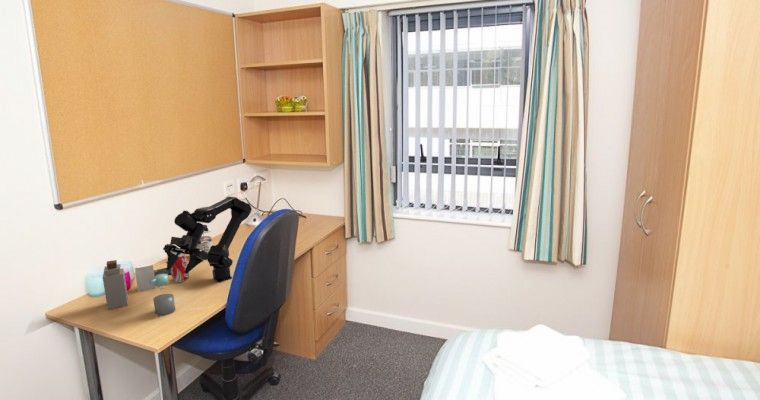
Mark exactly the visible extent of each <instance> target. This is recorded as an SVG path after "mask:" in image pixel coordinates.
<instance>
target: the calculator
mask: <svg viewBox="0 0 760 400" xmlns="http://www.w3.org/2000/svg"><path fill="white" fill-rule="evenodd" d="M153 270H154V269H153ZM158 274H167V275H168V277H169V276H172V273H171V269H170V270H169V271H168V270H167V267H163V268H158V269H155V270H154V276H156V275H158Z"/></svg>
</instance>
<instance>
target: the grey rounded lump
mask: <svg viewBox="0 0 760 400" xmlns="http://www.w3.org/2000/svg"><path fill="white" fill-rule="evenodd" d="M175 303H176V302H175V296H174V294H173V293H162V294H158V295H156V296H154V298H153V306H154V314H155V315H157V316H159V317H160V316H161V317H162V316H167V315H170V314H173V313H174V312H175V311H176V304H175Z"/></svg>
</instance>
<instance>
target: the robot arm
mask: <svg viewBox="0 0 760 400" xmlns="http://www.w3.org/2000/svg"><path fill="white" fill-rule="evenodd" d="M228 209H230V215H231V216H230V220H229V222H228V224H227V225H226V228H225V229H224V231H223V234H222V236H221V237H220V238H219V241H218V243H217V244H216V245H212V246H211V248H210V250H209V252H208V253H207V252H205V251H204V250H203V249H199V248H196V247H197V246H198V244H201V243H202V242H200V239H201V237H202V236H203V232H204V231H208V228H209V227H208V225H207V224H210V223H212V222H213V221H214V220H215V219H216V217H217V215H219V214H222V213H224V212H226V211H227V210H228ZM252 211H253V210H252V206H251V204H249V203H247V202H245V201H244V200H241V199H240V198H238V197H236V196H227V197H225V198H224V199H222V200H220V201H218V202H216V203H214V204H212V205H210V206H204V207H198V208H196V209H194V211H193V212H192V213H191V212H190V211H188V210H183V211H182V212H181V213H179V214H177V216H175V218H174V224H175V225H176V226H178V228H180V229H182V230H184V231H185V232H186V234H183V235H182V236H181V237H177V236H171V238H170V243H167V244H164V246H163V249H162V250H163V251H164V253H165V254H166V256H167V261H166V268H167V270H168V271H169V270H170V269H171V268H172V266H173V265H174V264H175V262H176V261H177V259H178V258H179V257H178V255H180V254H185V255H189V260H188V261H187V262H188V265H187V267H186V269H185V273H186V274H187V273H188V272H189V273H190V272H191V271H192V270H193V269H194V268H196V267H197V266H198V265H200V264H201V263H203V262H204V261H207V262H208V265H209V266H210V267H212V279H213V280H215V281H216V282H218V283H220V282H224V281H227V280H232V279H233V277H232V276H231V269H230V268H231V266H233V259H232V258H230V251H229V249H230V246H231V244H232V242H233V240H234V238H235V236H236V235H237V232H238V230H239V228H240V226H241V224H242V223H243V222H244V221H245V220H246V219H248V217H249V216H250V214H251V213H252Z"/></svg>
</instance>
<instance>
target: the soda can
mask: <svg viewBox="0 0 760 400" xmlns="http://www.w3.org/2000/svg"><path fill="white" fill-rule="evenodd" d="M178 257H179V258H178V259H177V261H176V262H175V264H174V265H173V266H172V268H171V273H172V275H171V278H172V281H174V282H175V283H182V282H185V281H187V280H188V279H190V278H189V277H190V271H189V272H188V273H187V274H186V273H185V269H186V267H187V265H188V262H189V261H188V258H187V257H188V256H186V254H180V255H178Z"/></svg>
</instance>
